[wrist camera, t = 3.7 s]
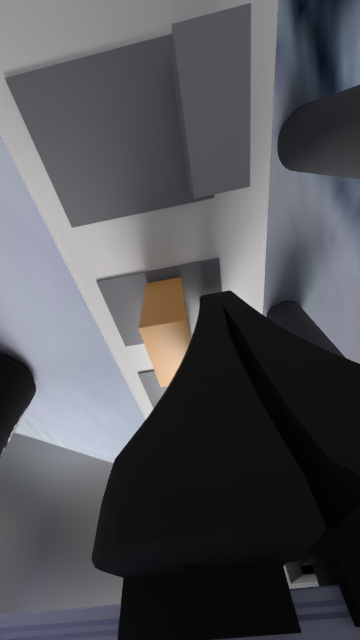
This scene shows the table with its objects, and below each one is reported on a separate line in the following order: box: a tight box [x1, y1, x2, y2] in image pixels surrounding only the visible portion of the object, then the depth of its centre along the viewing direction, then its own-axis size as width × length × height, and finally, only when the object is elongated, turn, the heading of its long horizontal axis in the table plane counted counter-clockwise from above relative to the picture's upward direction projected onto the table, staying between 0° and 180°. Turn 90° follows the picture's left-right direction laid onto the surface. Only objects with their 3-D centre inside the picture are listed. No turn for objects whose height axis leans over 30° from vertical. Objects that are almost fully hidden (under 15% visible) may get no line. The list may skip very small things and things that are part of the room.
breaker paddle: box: [138, 277, 192, 387], centre depth 9 cm, size 2×3×3 cm, turn 11°
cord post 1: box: [278, 85, 360, 179], centre depth 8 cm, size 2×2×6 cm
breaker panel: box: [0, 0, 278, 419], centre depth 11 cm, size 8×22×6 cm, turn 11°
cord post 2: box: [267, 301, 345, 358], centre depth 14 cm, size 2×2×6 cm
